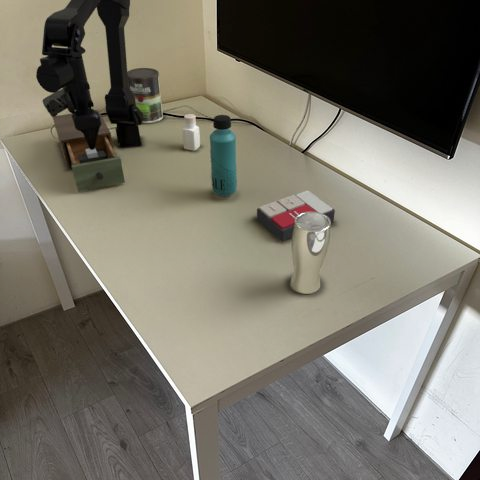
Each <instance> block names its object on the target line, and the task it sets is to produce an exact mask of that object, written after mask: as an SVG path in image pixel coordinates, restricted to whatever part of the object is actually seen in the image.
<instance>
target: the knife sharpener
mask: <svg viewBox="0 0 480 480" xmlns="http://www.w3.org/2000/svg"><path fill="white" fill-rule="evenodd" d="M85 151H86V154H81V155H78V158H79V162H80V164H81V163H87V162H92V161H98V160H104V159H107V156H106V154H105V152H104V151H98V152H97V151H96V149H94V150H90V148H89V149H85Z"/></svg>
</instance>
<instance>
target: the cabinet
mask: <svg viewBox="0 0 480 480" xmlns="http://www.w3.org/2000/svg"><path fill="white" fill-rule="evenodd" d="M94 110H95V111H97V112H98V114H99V116H100V119H101V124H102V125H101V127H100V128H99V132H98V136H97V137H101V136H106V137H107V139H108V141H109V142H110V144H111V146H112V148H113V150H114V145H113V139H112V135H111V134H112V133H111V131H110V129H109V128H108V125H107V124H106V122H105V120H104V117H103V116H102V114H101V113H100V110H99V109H94ZM52 120H53V124H54V128H55V131H56V135H57V139H58V142H59V145H60V149H61V151H62V154H63V157H64V160H65V163H66V167H67V169H68V170H72V166H71V165H72V164H71V161H70V157H69V153H68V150H67V146H66V142H70V141H77V140H83V139H85V137H84V134H83V133H82V132H81V131H78V130H76V129H75V126H74V123H73V120H72V113H67V114H66V113H65V114H58V115H56V116H55V117H52ZM114 151H115V150H114Z"/></svg>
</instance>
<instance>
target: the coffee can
mask: <svg viewBox="0 0 480 480" xmlns="http://www.w3.org/2000/svg"><path fill="white" fill-rule="evenodd" d="M159 72H160V71H158V70H157V69H155V68H151V67H138V68H133V69H130V70H127V74H128V86H129V89H130V90H131V92H132V94H133V95H134V97H135V102H136V106H137V107H138V108H139V110H140V111H141V112H142V113H143V121H142V124H154V123H157V122H160V121H162V120H163V118H164V114H163V105H162V95H161V86H160V85H161V83H160V76H159V75H160V73H159Z"/></svg>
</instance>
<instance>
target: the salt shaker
mask: <svg viewBox="0 0 480 480" xmlns="http://www.w3.org/2000/svg"><path fill="white" fill-rule="evenodd" d="M196 118H197V117H196V115H195V114H193V113H187V114H185V115H184V117H183V119H184V126H183V127H182V129H181V130H182V142H183V149H184V150H188V151H193V152H194V151H197V150H198V149H199V148H200V147H201V137H200V136H201V135H200V127H199V126H198V125H197V123H196V122H197V119H196Z"/></svg>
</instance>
